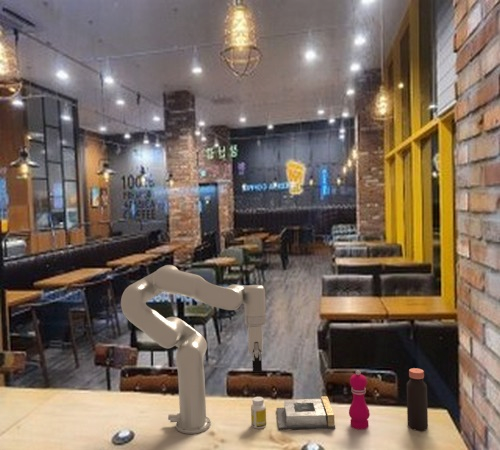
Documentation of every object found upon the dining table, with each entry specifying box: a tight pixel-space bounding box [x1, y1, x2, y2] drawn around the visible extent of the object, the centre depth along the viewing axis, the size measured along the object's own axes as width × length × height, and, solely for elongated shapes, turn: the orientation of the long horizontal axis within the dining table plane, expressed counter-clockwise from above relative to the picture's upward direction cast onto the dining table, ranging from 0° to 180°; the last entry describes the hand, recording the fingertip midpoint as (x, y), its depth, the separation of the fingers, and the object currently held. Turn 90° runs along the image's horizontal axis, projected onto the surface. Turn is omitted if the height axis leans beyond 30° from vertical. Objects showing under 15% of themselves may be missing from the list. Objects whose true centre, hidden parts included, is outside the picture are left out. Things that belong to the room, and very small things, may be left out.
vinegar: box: [406, 367, 429, 432], centre depth 161 cm, size 7×7×20 cm
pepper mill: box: [348, 369, 371, 430], centre depth 163 cm, size 7×7×20 cm
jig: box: [276, 395, 336, 431], centre depth 170 cm, size 20×16×5 cm
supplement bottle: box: [250, 396, 267, 430], centre depth 166 cm, size 5×5×10 cm
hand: (257, 366), depth 165 cm, fingers open, 9 cm apart
